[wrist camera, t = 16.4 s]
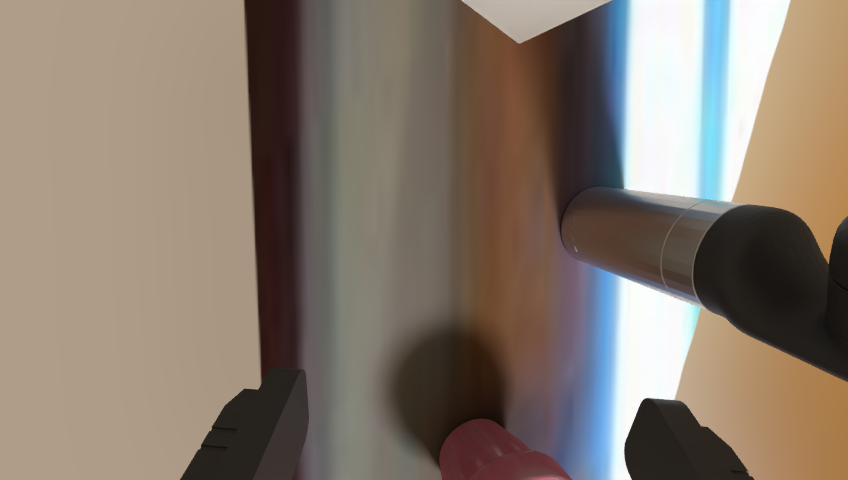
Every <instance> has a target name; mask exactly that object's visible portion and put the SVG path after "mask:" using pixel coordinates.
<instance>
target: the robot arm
mask: <svg viewBox="0 0 848 480" xmlns="http://www.w3.org/2000/svg"><path fill="white" fill-rule="evenodd" d="M561 234H562V240H563V243H564V246H565V248H566V249H567V251H568V252H569V253H570V254H571V255H572V256H573V257H574V258H576V259H578V260H580V261H583V262H585V263H588V264H590V265H593V266H595V267H598V268H600V269H603V270H605V271H608V272H610V273H613V274H615V275H618V276H621V277H623V278H626V279H628V280H631V281H633V282H636V283H639V284H641V285H644V286H646V287H649V288H651V289H654V290H656V291H659V292H662V293H664V294H667V295H669V296H672V297H674V298H677V299H680V300H682V301H685V302H688V303H690V304H693V305H695V306H698V307H700V308H703V309H706V310H708V311H711V312H713V313H715V314H718V315H720V316H723V317H725V318H726V319H727V320H728V321H729V322H730V323H731V324H732V325H733V326H735V327H736V328H737V329H738V330H740V331H741V332H743V333H745V334H746V335H748V336H750V337H753V338H755V339H757V340H759V341H761V342H764V343H766V344H768V345H770V346H772V347H774V348H776V349H779V350H781V351H783V352H785V353H787V354H789V355H791V356H793V357H796V358H798V359H800V360H802V361H804V362H806V363H808V364H811V365H812V366H815V367H817V368H819V369H821V370H823V371H825V372H827V373H829V374H831V375H834V376H836V377H838V378H840V379H842V380H844V381H847V382H848V217H846V218H845V219H844V220H843V221H842V223H841V224H840V225H839V227H838V228H837V231H836V234H835V236H834V239H833V244H832V249H831V253H830V260H829V264H828V263H827V261H826V259H825V258H824V256H823V254H822V252H821V250H820V248H819V246H818V244H817V242H816V239H815V237H814V235H813V234H812V232H811V230H810V228H809V227H808V226H807V224H806V223H805V222H804V221H803V220H802V219H801V218H800V217H798V216H797V215H795V214H793V213H791V212H789V211H786V210H783V209H779V208H773V207H766V206H758V205H749V204H741V203H733V202H725V201H717V200H707V199H699V198H691V197H683V196H675V195H666V194H658V193H650V192H642V191H634V190H627V189H618V188H610V187H600V186H596V187H590V188H588V189H586V190H583V191H582V192H581V193H579V194H578V195H577V196H576V197H575V198H574V199H573V200H572V201H571V202H570V204H569V205H568V207H567V209H566V211H565V213H564V216H563V220H562V226H561ZM308 421H309V412H308V398H307V384H306V373H305V371H304V370H302V369H289V368H277V367H272V368H271V369H270V370H269V371H268V373H267V374H266V376H265V378H264V380H263V382H262V384H261V386H260V388H259V389H258V390H254V389H244V390H242V391H241V392H240V393H239V394H238V395H237V396H236V397H234V398H233V399H232V400H231V401H230V402H229V403H227V404H226V405H225V406H224V408H223V410H222V411H221V413H220V415H219V416H218V418H217V420H216V421H215V423H214V425H213V426H212V430H211V431H209V433H208V434H207V436H206V438H205V439H204V441H203V443H202V444H201V449H200V450H198V451H197V453H196V454H195V456H194V458H193V459H192V461H191V463H190V464H189V466H188V468H187V469H186V471H185V473H184V474H183V476H182V478H181V479H180V480H292V477H293V475H294V472H295V469H296V466H297V463H298V460H299V457H300V454H301V451H302V448H303V446H304V442H305V439H306V435H307V429H308ZM624 454H625V462H626V466H627V469H628V472H629V474H630V477H631V479H632V480H754V479H753V477H751V476H749V474H748V471H747V469H746V468H745V466H744V465H743V463H742V462H741V461H740V459H739V458H738V456H737V455H736V454H735V452H734V451H733V450H732V448H731V447H730V446H729V445H727V444H726V443H725V442H724V441H723V440H722V439H721V438H719V437H718V436H717V435H716V434H715V433H714V432H713V431H711V430H710V429H709V428H708V427H701V426H700V424H699V423H698V421H697V420H696V418H695V417H694V416H693V414H692V413H691V411H690V410H689V408H688V407H687V406H686V405H685V404H684V403H683V402H681V401H676V400H664V399H651V398H646V399H644V400H643V401H642V402H641V404H640V407H639V409H638V412H637V414H636V417H635V419H634V422H633V424H632V427H631V429H630V432H629V434H628V437H627V439H626V442H625V449H624Z"/></svg>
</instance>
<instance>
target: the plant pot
mask: <svg viewBox="0 0 848 480" xmlns="http://www.w3.org/2000/svg"><path fill="white" fill-rule="evenodd" d="M439 463H440V469H441V474H442V480H572V479H571V478H570V477H569V476H568V474H567V473H566V472H565V471H564V470H563V468H562V467H561V466H560V465H559V464H558V463H557V462H556V461H555V460H554V459H552V458H551V457H549V456H548V455H546V454H543V453H540V452H536V451H533V450H531V449H530V448H529V447H528V446H526V445H525V444H524V443H523V442H521V441H520V440H519V439H517V438H516V437H515V436H513V435H512V434H511V433H509V432H508V431H507V430H505V429H504V428H503V427H501V426H500V425H499V424H497V423H496V422H494V421H491V420H488V419H474V420H471V421H468V422H465V423H463V424H461V425H460V426H458V427H457V428H456V429H454V430H453V431H452V432H451V433H450V434H449V436H448V437H447V438H446V440H445V441H444V443H443V445H442V448H441V451H440V456H439Z"/></svg>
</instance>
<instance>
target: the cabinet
mask: <svg viewBox="0 0 848 480" xmlns="http://www.w3.org/2000/svg"><path fill="white" fill-rule="evenodd" d="M462 1H463V2H464V3H466V4H467V5H468V6H470V7H471V8H472V9H473V10H475V11H476V12H477V13H479V14H480V15H481V16H483V17H484V18H485V19H487V20H488V21H489V22H491V23H492V24H493V25H495V26H496V27H497V28H499V29H500V30H501V31H503V32H504V33H505V34H507V35H508V36H509V37H511V38H512V39H513V40H514V41H516V42H517V43H518V44H520V43H522V42H524V41H527V40H529V39H531V38H533V37H535V36H537V35H539V34H541V33H544V32H546V31H548V30H550V29H552V28H554V27H556V26H558V25H561V24H563V23H565V22H567V21H569V20H571V19H573V18H575V17H577V16H580V15H582V14H584V13H586V12H588V11H590V10H592V9H594V8H597V7H599V6H601V5H603V4H605V3H607V2H609V1H611V0H462Z"/></svg>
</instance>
